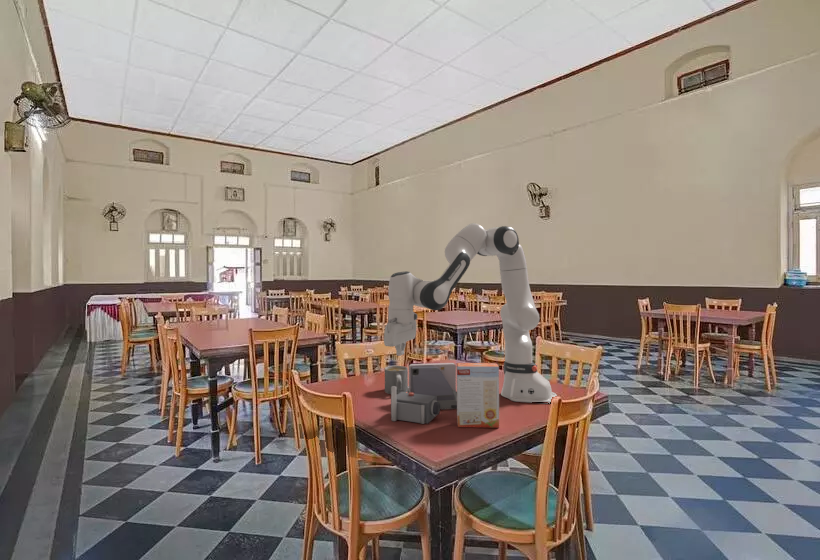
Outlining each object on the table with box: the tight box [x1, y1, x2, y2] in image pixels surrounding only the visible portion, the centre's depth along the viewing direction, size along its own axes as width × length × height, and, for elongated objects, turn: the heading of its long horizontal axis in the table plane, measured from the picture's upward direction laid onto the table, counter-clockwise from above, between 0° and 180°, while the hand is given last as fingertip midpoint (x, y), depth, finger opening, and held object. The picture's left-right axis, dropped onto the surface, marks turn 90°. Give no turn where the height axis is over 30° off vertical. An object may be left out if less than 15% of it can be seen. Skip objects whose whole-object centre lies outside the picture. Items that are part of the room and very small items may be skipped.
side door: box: [390, 386, 425, 425], centre depth 151 cm, size 12×3×12 cm, turn 67°
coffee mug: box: [384, 365, 409, 395], centre depth 188 cm, size 13×10×10 cm
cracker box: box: [456, 362, 500, 429], centre depth 149 cm, size 14×6×21 cm, turn 86°
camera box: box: [397, 392, 441, 424], centre depth 157 cm, size 16×9×8 cm, turn 67°
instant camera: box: [407, 362, 457, 410], centre depth 173 cm, size 21×21×15 cm
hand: (400, 355), depth 158 cm, fingers closed
